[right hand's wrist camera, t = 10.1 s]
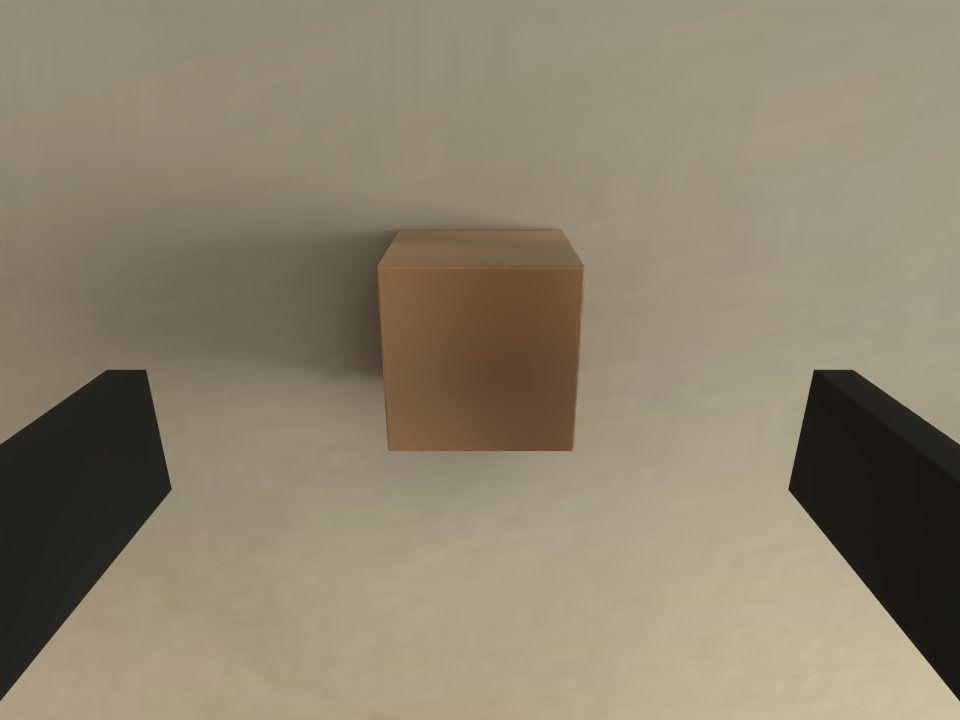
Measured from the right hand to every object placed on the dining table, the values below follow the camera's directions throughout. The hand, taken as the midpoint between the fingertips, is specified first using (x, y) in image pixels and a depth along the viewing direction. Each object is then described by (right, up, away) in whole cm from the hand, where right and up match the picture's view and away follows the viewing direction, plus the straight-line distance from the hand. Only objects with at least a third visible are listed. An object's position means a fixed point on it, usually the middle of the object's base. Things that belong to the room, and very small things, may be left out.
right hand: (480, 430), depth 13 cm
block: (0, +3, +5) cm, 6 cm away
